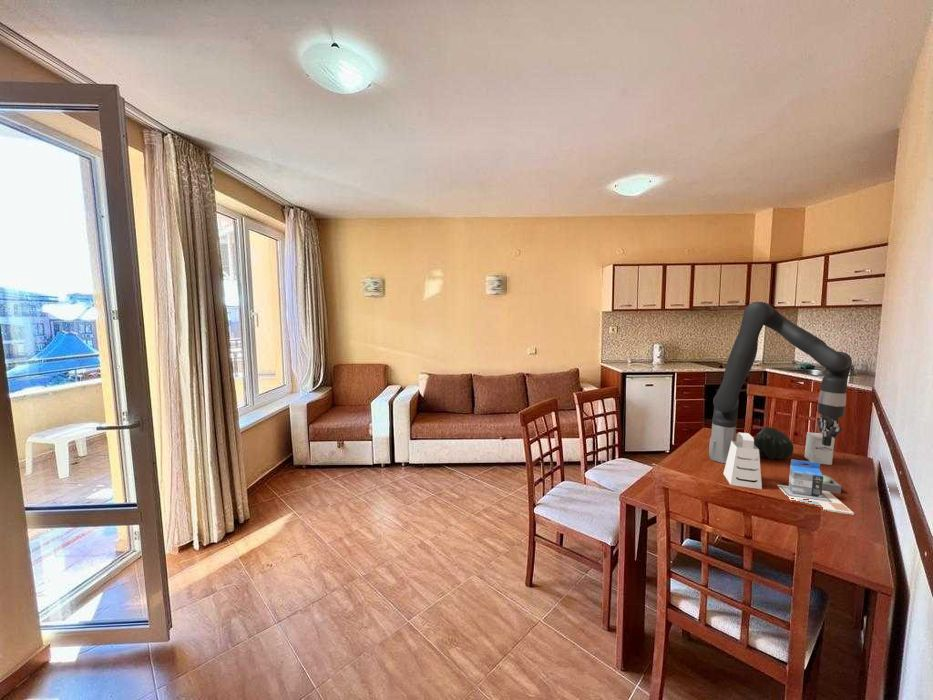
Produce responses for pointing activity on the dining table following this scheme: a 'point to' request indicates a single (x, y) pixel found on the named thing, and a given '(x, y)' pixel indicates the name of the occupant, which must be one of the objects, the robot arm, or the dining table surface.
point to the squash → (773, 444)
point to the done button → (826, 479)
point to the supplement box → (818, 449)
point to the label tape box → (805, 478)
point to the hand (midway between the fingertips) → (826, 445)
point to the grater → (743, 462)
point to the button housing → (832, 486)
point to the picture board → (819, 500)
